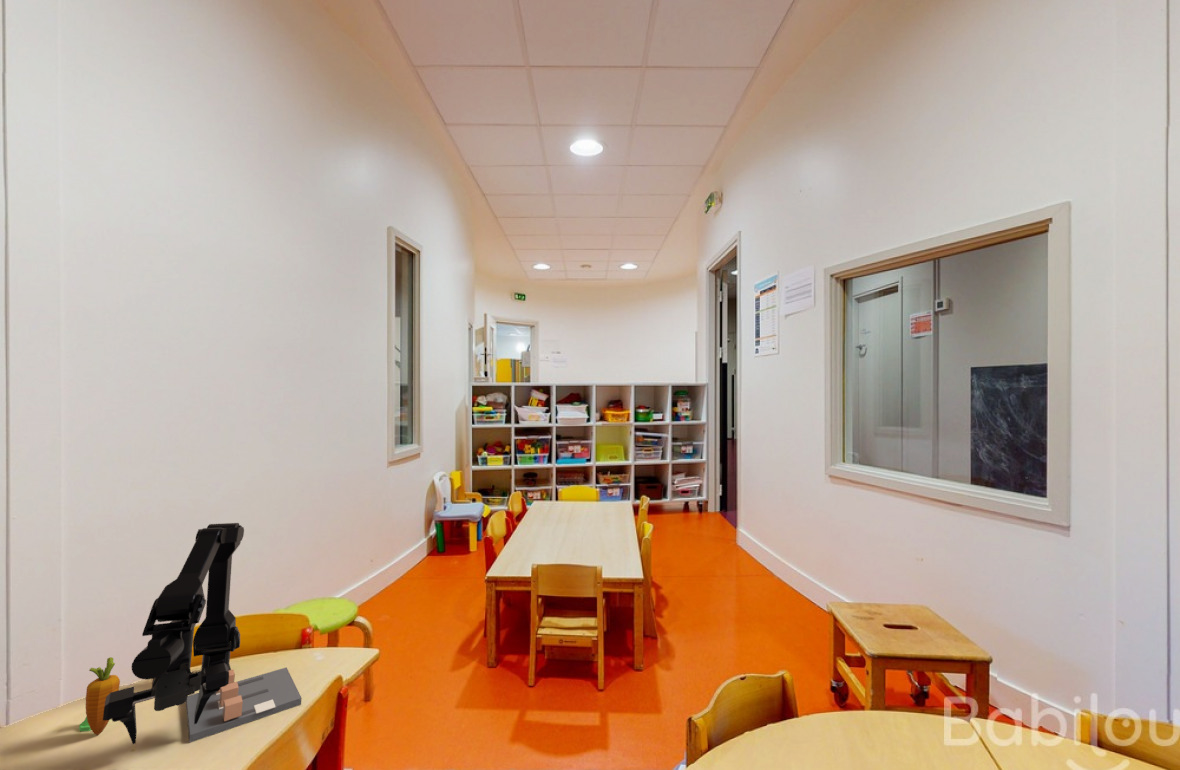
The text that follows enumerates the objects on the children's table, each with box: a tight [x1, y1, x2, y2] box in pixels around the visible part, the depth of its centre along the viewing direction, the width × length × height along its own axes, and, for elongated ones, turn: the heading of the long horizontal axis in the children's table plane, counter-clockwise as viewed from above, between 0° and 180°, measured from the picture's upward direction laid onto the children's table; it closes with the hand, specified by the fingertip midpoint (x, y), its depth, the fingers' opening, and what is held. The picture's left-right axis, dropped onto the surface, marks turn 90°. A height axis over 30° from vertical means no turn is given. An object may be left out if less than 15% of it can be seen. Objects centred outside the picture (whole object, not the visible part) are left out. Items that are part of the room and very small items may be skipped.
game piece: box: [78, 716, 92, 732], centre depth 99 cm, size 4×4×6 cm
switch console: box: [185, 667, 302, 743], centre depth 108 cm, size 18×20×2 cm
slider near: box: [223, 695, 243, 721], centre depth 101 cm, size 3×3×3 cm
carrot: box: [85, 657, 121, 736], centre depth 97 cm, size 5×5×15 cm
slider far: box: [218, 669, 236, 692], centre depth 111 cm, size 3×3×3 cm
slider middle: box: [220, 681, 239, 706], centre depth 106 cm, size 3×3×3 cm
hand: (165, 732), depth 94 cm, fingers open, 9 cm apart
